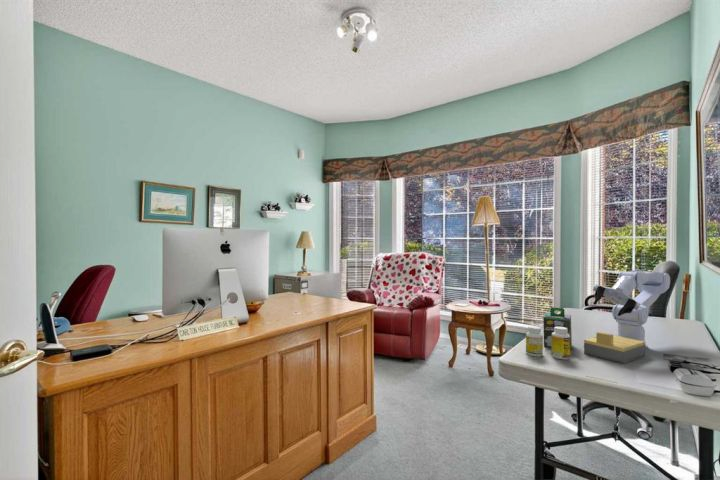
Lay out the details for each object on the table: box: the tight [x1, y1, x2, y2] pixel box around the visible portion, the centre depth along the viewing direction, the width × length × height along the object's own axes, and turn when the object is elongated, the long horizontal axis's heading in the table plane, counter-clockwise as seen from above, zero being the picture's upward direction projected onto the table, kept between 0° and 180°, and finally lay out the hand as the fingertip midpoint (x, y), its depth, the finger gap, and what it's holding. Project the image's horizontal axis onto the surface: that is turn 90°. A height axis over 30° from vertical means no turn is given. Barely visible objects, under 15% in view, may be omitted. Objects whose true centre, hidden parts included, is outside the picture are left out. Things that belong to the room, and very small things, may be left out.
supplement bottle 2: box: [551, 327, 571, 360], centre depth 119 cm, size 6×6×10 cm
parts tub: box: [583, 334, 646, 365], centre depth 123 cm, size 17×12×5 cm
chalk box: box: [542, 306, 573, 351], centre depth 134 cm, size 9×9×15 cm
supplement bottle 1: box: [525, 325, 544, 358], centre depth 122 cm, size 5×5×10 cm
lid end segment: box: [583, 331, 633, 352], centre depth 120 cm, size 7×12×4 cm, turn 31°
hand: (607, 308), depth 122 cm, fingers open, 7 cm apart
